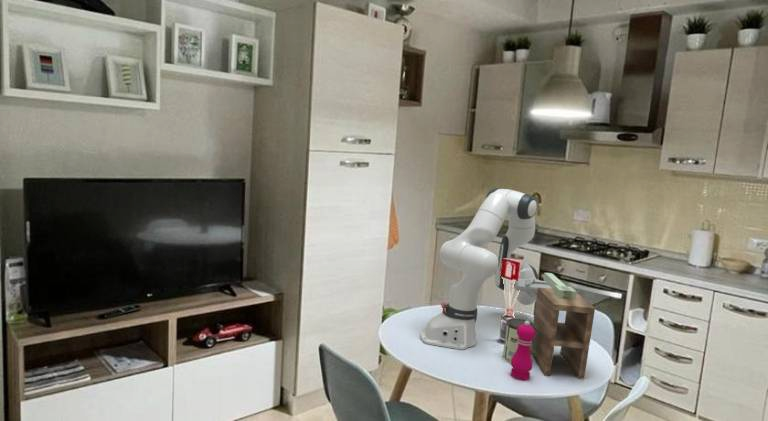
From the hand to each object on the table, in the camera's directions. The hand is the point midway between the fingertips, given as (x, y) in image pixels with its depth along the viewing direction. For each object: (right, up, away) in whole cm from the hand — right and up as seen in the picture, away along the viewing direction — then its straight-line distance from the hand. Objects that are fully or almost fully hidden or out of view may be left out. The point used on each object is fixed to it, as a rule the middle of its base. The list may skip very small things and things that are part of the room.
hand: (544, 282), depth 211 cm
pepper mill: (-19, -28, -32) cm, 47 cm away
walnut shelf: (-2, -28, -20) cm, 34 cm away
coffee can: (-16, -26, -18) cm, 36 cm away
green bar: (0, -1, -14) cm, 14 cm away
